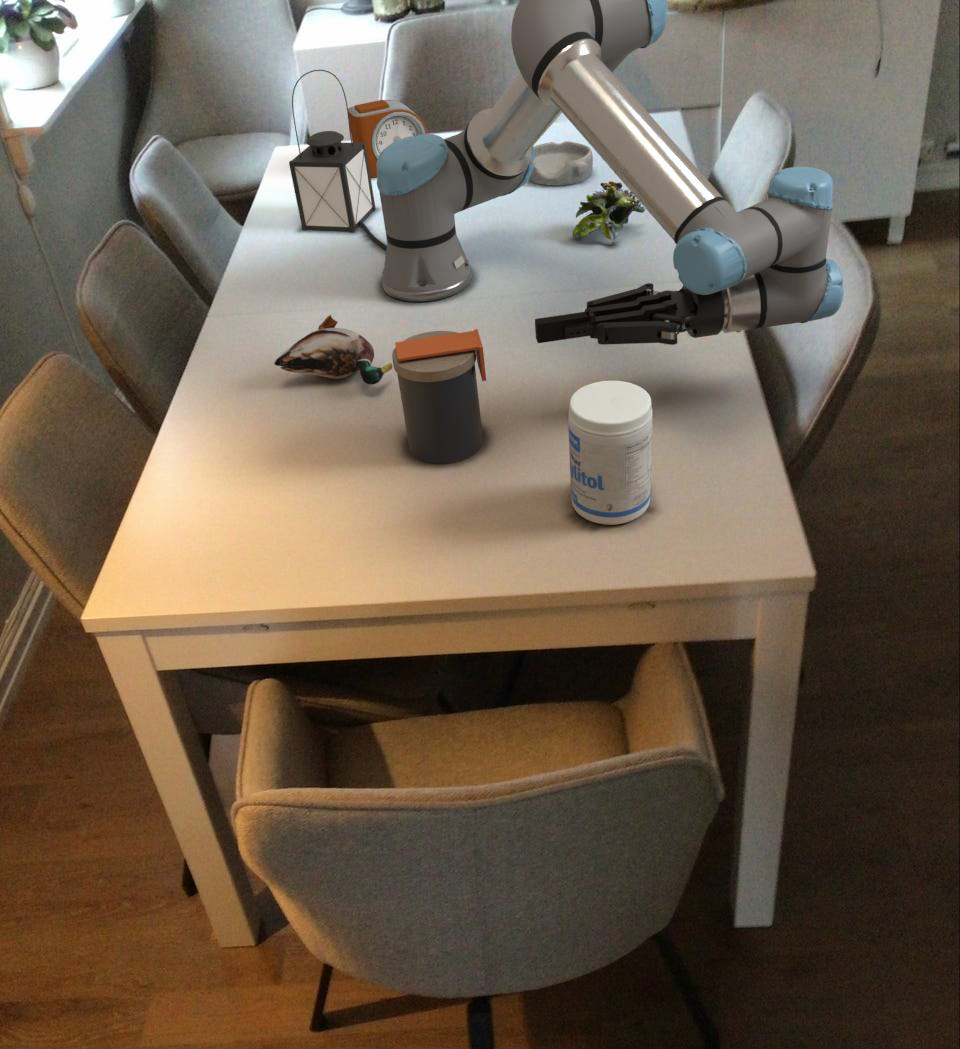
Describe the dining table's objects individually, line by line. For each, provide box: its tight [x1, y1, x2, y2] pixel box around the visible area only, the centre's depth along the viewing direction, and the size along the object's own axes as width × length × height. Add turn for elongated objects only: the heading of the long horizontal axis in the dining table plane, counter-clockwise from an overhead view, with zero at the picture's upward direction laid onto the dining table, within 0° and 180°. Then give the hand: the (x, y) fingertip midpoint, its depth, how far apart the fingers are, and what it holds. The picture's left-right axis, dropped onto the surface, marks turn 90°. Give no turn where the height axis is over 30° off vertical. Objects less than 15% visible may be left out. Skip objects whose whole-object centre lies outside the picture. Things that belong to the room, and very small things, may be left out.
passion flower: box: [571, 180, 646, 247], centre depth 191 cm, size 11×11×12 cm
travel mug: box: [391, 330, 484, 465], centre depth 141 cm, size 11×11×14 cm
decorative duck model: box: [273, 314, 393, 385], centre depth 158 cm, size 15×8×15 cm
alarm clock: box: [347, 99, 428, 179], centre depth 228 cm, size 15×8×14 cm, turn 111°
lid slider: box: [394, 328, 487, 382], centre depth 137 cm, size 11×5×5 cm, turn 98°
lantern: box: [288, 69, 377, 233], centre depth 203 cm, size 11×11×28 cm
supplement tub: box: [567, 380, 653, 526], centre depth 126 cm, size 10×10×15 cm
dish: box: [528, 140, 594, 186], centre depth 218 cm, size 14×14×5 cm
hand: (536, 331), depth 137 cm, fingers closed
